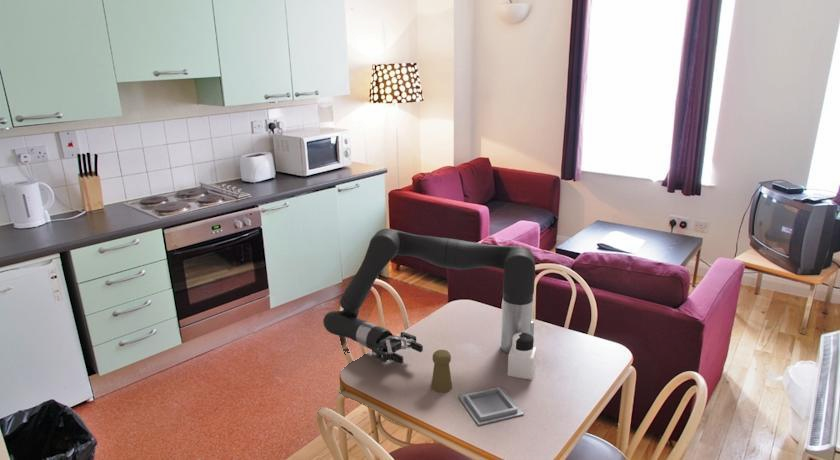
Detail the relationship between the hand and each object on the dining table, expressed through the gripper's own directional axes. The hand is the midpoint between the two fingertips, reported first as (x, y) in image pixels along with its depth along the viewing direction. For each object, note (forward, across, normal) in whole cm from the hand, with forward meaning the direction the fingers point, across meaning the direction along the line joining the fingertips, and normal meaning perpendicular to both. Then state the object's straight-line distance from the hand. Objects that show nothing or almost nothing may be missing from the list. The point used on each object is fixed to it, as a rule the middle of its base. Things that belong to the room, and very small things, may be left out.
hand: (412, 354), depth 163 cm
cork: (+11, 0, +6) cm, 13 cm away
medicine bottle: (+24, +21, +6) cm, 33 cm away
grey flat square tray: (+27, +1, +6) cm, 27 cm away
